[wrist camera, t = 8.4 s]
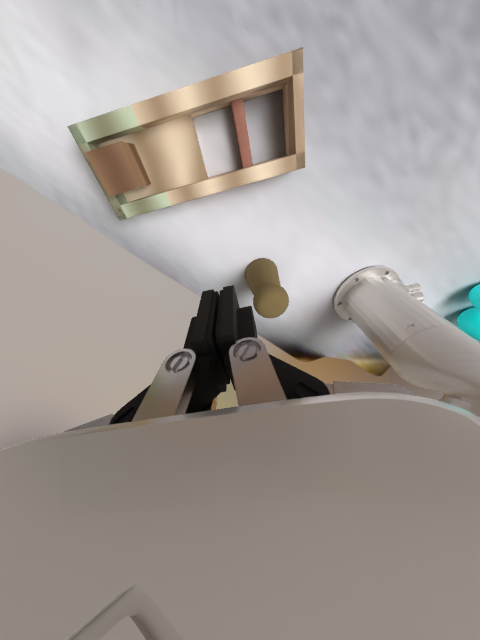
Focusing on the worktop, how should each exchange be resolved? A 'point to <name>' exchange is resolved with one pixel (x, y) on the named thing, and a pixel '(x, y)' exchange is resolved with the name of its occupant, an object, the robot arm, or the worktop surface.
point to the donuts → (471, 315)
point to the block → (118, 167)
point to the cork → (266, 288)
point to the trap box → (181, 139)
